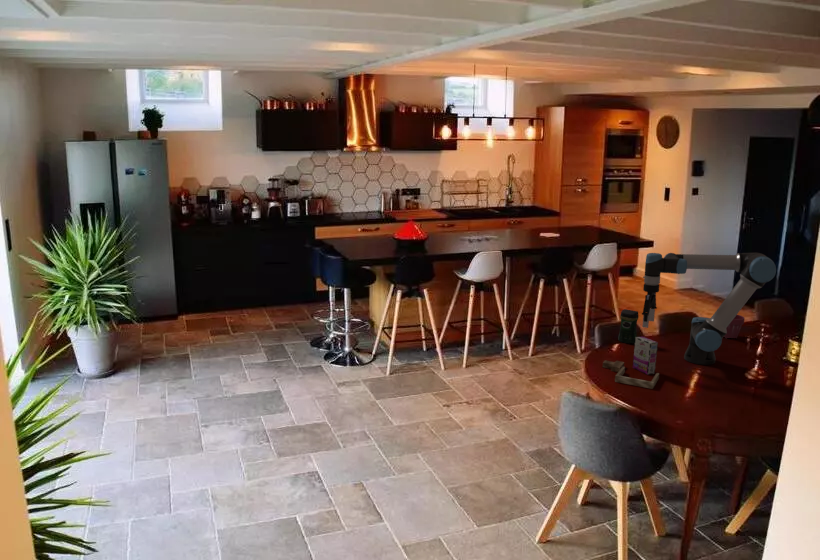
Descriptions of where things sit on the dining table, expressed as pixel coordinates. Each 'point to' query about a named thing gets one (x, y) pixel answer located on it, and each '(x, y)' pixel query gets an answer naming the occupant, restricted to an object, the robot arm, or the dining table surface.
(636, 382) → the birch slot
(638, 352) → the candy bar box
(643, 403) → the dining table surface
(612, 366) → the walnut T block
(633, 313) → the coffee jar
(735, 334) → the plant pot
